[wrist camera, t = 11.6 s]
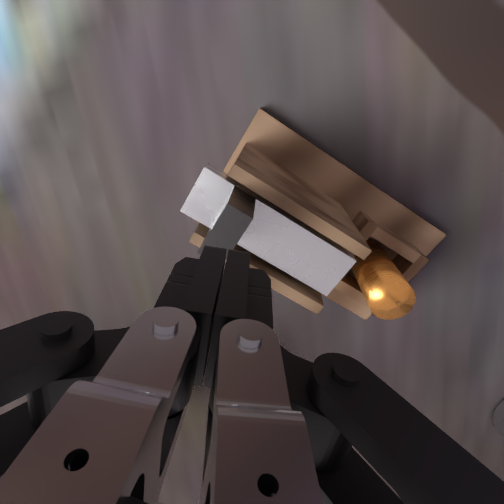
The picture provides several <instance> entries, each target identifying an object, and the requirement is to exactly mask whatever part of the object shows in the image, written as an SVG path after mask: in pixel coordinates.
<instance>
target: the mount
mask: <svg viewBox="0 0 504 504" xmlns="http://www.w3.org/2000/svg"><path fill="white" fill-rule="evenodd" d="M223 172H225V173H226V174H228V176H230V177H231V178H233V179H235V180H236V181H238V182H239V183H241V184H243V185H244V186H246V187H247V188H249V189H251V190H252V191H254V192H255V193H257V194H259V195H260V196H262V197H263V198H265V199H267V200H268V201H270V202H271V203H273V204H275V205H276V206H278V207H280V208H281V209H283V210H284V211H286V212H288V213H289V214H291V215H292V216H294V217H296V218H297V219H299V220H300V221H302V222H304V223H305V224H307V225H308V226H310V227H312V228H313V229H315V230H316V231H318V232H320V233H321V234H323V235H325V236H326V237H328V238H329V239H331V240H333V241H334V242H336V243H337V244H339V245H341V246H342V247H344V248H345V249H347V250H349V251H350V252H352V253H353V255H357V256H358V257H360V258H361V259H363V260H365V259H366V257H367V256H368V255H369V254H370V253H371V252H372V250H371V249H370V247H369V246H368V244H367V243H366V241H367V240H372V241H375V242H377V243H379V244H380V245H381V246H382V248H383V249H384V250H385V252H386V253H387V255H388V256H389V257H390V259H391V260H392V261H393V263H394V264H395V266H396V267H397V268H398V270H399V271H400V272H401V274H402V275H403V277H404V278H405V279H406V281H407V282H409V281H410V280H411V279H412V278H413V277H414V276H415V275H416V274H417V273H418V272H419V271H420V270H421V269H422V268H423V267H424V266H425V265H426V264H427V263H428V262H429V259H428V258H427V257H426V256H427V255H428V254H429V253H430V252H431V251H432V250H433V249H434V248H435V247H436V246H437V245H438V243H439V242H440V241H441V240H442V239H443V238H444V237H445V236H446V234H444V233H443V232H442V231H440V230H439V229H437V228H436V227H434V226H433V225H431V224H430V223H428V222H427V221H426V220H424V219H423V218H421V217H420V216H418V215H417V214H415V213H414V212H412V211H411V210H409V209H408V208H406V207H405V206H403V205H402V204H400V203H399V202H397V201H396V200H395V199H393V198H392V197H390V196H389V195H387V194H386V193H384V192H383V191H381V190H380V189H378V188H377V187H375V186H374V185H372V184H371V183H369V182H368V181H366V180H365V179H364V178H362V177H361V176H359V175H358V174H356V173H355V172H353V171H352V170H350V169H349V168H347V167H346V166H344V165H343V164H341V163H340V162H338V161H337V160H336V159H334V158H333V157H331V156H330V155H328V154H327V153H325V152H324V151H322V150H321V149H319V148H318V147H316V146H315V145H313V144H312V143H310V142H309V141H307V140H306V139H305V138H303V137H302V136H300V135H299V134H297V133H296V132H294V131H293V130H291V129H290V128H288V127H287V126H285V125H284V124H282V123H281V122H279V121H278V120H276V119H275V118H274V117H272V116H271V115H269V114H268V113H266V112H265V111H263V110H262V109H260V108H259V110H258V112H257V113H256V115H255V117H254V118H253V120H252V122H251V124H250V125H249V127H248V129H247V131H246V132H245V134H244V136H243V138H242V139H241V141H240V143H239V144H238V146H237V148H236V150H235V151H234V153H233V155H232V157H231V158H230V160H229V162H228V164H227V165H226V167H225V169H224V170H223ZM195 221H197V220H195ZM197 222H198V221H197ZM198 223H199V225H198V227H197V228H196V230H195V232H194V234H193V235H192V237H191V239H190V241H189V242H191V243H192V244H194V245H196V246H198V247H199V248H200V246H201V244H202V242H203V240H204V238H205V236H206V234H207V231H208V229H209V227H207V226H205V225H203V224H202V223H200V222H198ZM233 250H237V251H243V252H249V253H250V268H256V269H262V270H265V272H266V273H267V275H268V276H269V277H270V279H271V288H272V289H273V290H275V291H277V292H279V293H281V294H282V295H284V296H286V297H288V298H289V299H291V300H293V301H295V302H296V303H298V304H300V305H302V306H303V307H305V308H307V309H309V310H311V311H312V312H314V313H316V314H318V313H319V312H320V311H321V309H322V308H323V307H324V305H323V301H322V297H321V294H322V293H320V292H318V291H317V290H315V289H313V288H312V287H310V286H308V285H306V284H305V283H303V282H301V281H300V280H298V279H296V278H294V277H293V276H291V275H289V274H288V273H286V272H284V271H282V270H281V269H279V268H277V267H276V266H274V265H272V264H270V263H269V262H267V261H265V260H264V259H262V258H260V257H258V256H257V255H255V254H253V253H251V252H250V251H248V250H246V249H245V248H243V247H241V246H239V245H238V244H236V246H235V247H234V249H233ZM225 262H226V261H225ZM322 295H324V294H322ZM324 296H325V295H324ZM326 297H327V298H329V299H331V300H332V301H334V302H336V303H338V304H339V305H341V306H343V307H344V308H346V309H348V310H350V311H351V312H353V313H355V314H356V315H358V316H360V317H362V318H363V319H365V320H366V319H367V318H368V317H369V316H370V315H371V314H372V312H371V310H370V308H369V306H368V304H367V302H366V299H365V297H364V295H363V293H362V291H361V289H360V286H359V284H358V282H357V280H356V278H355V276H354V274H353V271H352V269H350V270H349V271H348V272H347V273H346V274H345V276H344V277H343V278H342V279H341V280H340V281H339V283H338V284H337V285H336V286H335V287H334V288H333V290H332V291H331V292H330V293H329V294H328V295H327V296H326Z"/></svg>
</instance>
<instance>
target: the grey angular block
mask: <svg viewBox="0 0 504 504" xmlns="http://www.w3.org/2000/svg"><path fill="white" fill-rule="evenodd" d="M180 211H181V212H183V213H185V214H186V215H188V216H190V217H191V218H193V219H195V220H197V221H198V222H200V223H202V224H203V225H205V226H207V227H209V229H208V231H207V234H206V236H205V238H204V240H203V242H202V244H201V246H200V248H199V251H198V253H199V254H202V251H203V248H204V246H205V245H207V246H213V247H219V248H225V249H227V252H226V259H225V261H226V260H227V255H228V250H229V249H231V250H233V249H234V247H235V246H236V244H238V245H239V246H241V247H243V248H245V249H246V250H248V251H250V252H251V253H253V254H255V255H257V256H258V257H260V258H262V259H264V260H265V261H267V262H269V263H270V264H272V265H274V266H276V267H277V268H279V269H281V270H282V271H284V272H286V273H288V274H289V275H291V276H293V277H294V278H296V279H298V280H300V281H301V282H303V283H305V284H306V285H308V286H310V287H312V288H313V289H315V290H317V291H318V292H320V293H322V294H324V295H325V296H327V295H328V294H329V293H330V292H331V291H332V290H333V288H334V287H335V286H336V285H337V284H338V283H339V281H340V280H341V279H342V278H343V277H344V276H345V274H346V273H347V272H348V271H349V270H350V269H351V267H352V266H353V265H354V264H355V263H356V262H357V261H356V259H355V257H354V255H353V253H352V252H350V251H349V250H347V249H345V248H344V247H342V246H341V245H339V244H337V243H336V242H334V241H333V240H331V239H329V238H328V237H326V236H325V235H323V234H321V233H320V232H318V231H316V230H315V229H313V228H312V227H310V226H308V225H307V224H305V223H304V222H302V221H300V220H299V219H297V218H296V217H294V216H292V215H291V214H289V213H288V212H286V211H284V210H283V209H281V208H280V207H278V206H276V205H275V204H273V203H271V202H270V201H268V200H267V199H265V198H263V197H262V196H260V195H259V194H257V193H255V192H254V191H252V190H251V189H249V188H247V187H246V186H244V185H243V184H241V183H239V182H238V181H236V180H235V179H233V178H231V177H230V176H228V174H226V173H225V172H223V171H221V170H220V169H218V168H217V167H215V166H213V165H212V164H210V163H208V164H207V165H206V166H205V167H204V169H203V170H202V172H201V174H200V176H199V178H198V180H197V181H196V183H195V185H194V187H193V189H192V190H191V192H190V194H189V196H188V198H187V200H186V201H185V203H184V205H183V207H182V209H181V210H180Z"/></svg>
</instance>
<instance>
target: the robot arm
mask: <svg viewBox="0 0 504 504" xmlns="http://www.w3.org/2000/svg"><path fill="white" fill-rule="evenodd" d="M226 252H227V249H225V248H219V247H213V246H207V245H205V246H204V248H203V251H202V254H201V256H200V259H194V258H188V257H185V258H184V259H182V260H181V261H179V262H177V263H176V264H175V266H174V268H173V270H172V272H171V275H170V276H169V278H168V280H167V282H166V284H165V286H164V288H163V290H162V292H161V294H160V296H159V298H158V300H157V302H156V304H155V306H154V308H152V309H149V310H147V311H145V312H143V313H141V314H140V315H139V316H138V317H137V318H136V319H135V321H134V322H133V324H132V325H131V326H130V327H127V328H122V329H113V330H99V331H94V325H93V322H92V321H91V319H90V318H88V317H87V316H85V315H83V314H80V313H77V312H70V311H60V312H53V313H48V314H45V315H41V316H39V317H36V318H33V319H30V320H27V321H24V322H21V323H19V324H16V325H13V326H10V327H7V328H4V329H2V330H0V407H2V406H4V405H6V404H8V403H10V402H12V401H14V400H16V399H18V398H20V397H22V396H24V395H26V398H27V402H25V403H23V404H21V405H19V406H17V407H15V408H13V409H12V410H10V411H8V412H6V413H4V414H2V415H0V504H157V502H158V498H159V494H160V490H161V487H162V483H163V480H164V477H165V474H166V471H167V468H168V465H169V462H170V459H171V456H172V453H173V450H174V447H175V444H176V440H177V437H178V434H179V431H180V428H181V425H182V422H183V419H184V416H185V413H186V407H187V404H188V402H189V399H190V396H191V392H192V388H193V385H199V386H202V382H203V377H204V372H205V367H206V362H207V357H208V352H209V358H208V364H207V371H206V378H205V384H204V386H207V387H211V392H210V398H209V405H208V411H207V417H206V429H205V441H204V453H203V464H202V476H201V488H200V498H199V504H504V481H502V480H501V479H500V478H499V477H498V476H496V475H495V474H494V473H493V472H492V471H490V470H489V469H488V468H487V467H486V466H484V465H483V464H482V463H481V462H479V461H478V460H477V459H476V458H475V457H473V456H472V455H471V454H470V453H469V452H467V451H466V450H465V449H464V448H463V447H461V446H460V445H459V444H458V443H457V442H455V441H454V440H453V439H452V438H451V437H449V436H448V435H447V434H446V433H445V432H443V431H442V430H441V429H440V428H439V427H437V426H436V425H435V424H434V423H433V422H431V421H430V420H429V419H428V418H427V417H425V416H424V415H423V414H422V413H421V412H419V411H418V410H417V409H416V408H415V407H413V406H412V405H411V404H410V403H409V402H407V401H406V400H405V399H404V398H403V397H401V396H400V395H399V394H398V393H397V392H395V391H394V390H393V389H392V388H391V387H389V386H388V385H387V384H386V383H385V382H383V381H382V380H381V379H380V378H379V377H377V376H376V375H375V374H374V373H373V372H371V371H370V370H369V369H368V368H367V367H365V366H364V365H363V364H362V363H360V362H359V361H357V360H355V359H354V358H351V357H349V356H347V355H343V354H339V353H326V354H323V355H320V356H319V357H317V358H316V359H315V361H314V363H312V362H310V361H307V360H305V359H302V358H300V357H298V356H295V355H293V354H292V353H290V352H288V351H287V350H286V349H284V348H283V347H282V346H281V345H280V342H279V338H278V336H277V334H276V333H275V332H274V330H273V315H272V299H271V298H272V293H271V279H270V277H269V276H268V275H267V273H266V272H265V270H262V269H256V268H250V253H249V252H243V251H237V250H231V249H229V250H228V255H227V260H226V264H225V259H226ZM224 265H225V269H224ZM223 272H224V274H223ZM222 278H223V279H222ZM210 342H211V344H210ZM209 347H210V351H209ZM492 420H493V424H494V426H495V428H496V429H497V431H498V432H499V434H500V435H501V437H502V438H503V440H504V400H503V401H502V402H501V403H500V404H499V405H498V406H497V407H496V409H495V411H494V413H493V419H492ZM352 445H353V446H354V447H355V448H356V449H357V450H358V451H359V453H360V454H361V455H362V456H363V457H364V458H365V459H366V460H367V461H368V462H369V463H370V464H371V465H372V466H373V467H374V468H375V469H376V471H377V472H378V473H379V474H380V475H381V476H382V477H383V478H384V479H385V480H386V481H387V482H388V483H389V484H390V485H391V486H392V488H393V489H394V490H395V491H396V492H397V494H398V495H399V497H400V498H401V499H400V498H399V497H398V496H397V495H396V494H395V493H394V492H393V491H392V490H391V489H390V488H389V486H388V485H387V484H386V483H385V482H384V481H383V480H382V479H381V478H380V477H379V476H378V475H377V474H376V473H375V472H374V470H373V469H372V468H371V467H370V466H369V465H368V464H367V463H366V462H365V461H364V460H363V459H362V458H361V457H360V455H359V454H358V453H357V452H356V451H355V450H354V449H353V448H352Z"/></svg>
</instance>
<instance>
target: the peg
mask: <svg viewBox="0 0 504 504" xmlns="http://www.w3.org/2000/svg"><path fill="white" fill-rule="evenodd" d="M366 243H367V244H368V246H369V247H370V249H371V250H372V252H371V253H370V254H369V255H368V256H367V257H366V259H365V260H363V259H361V258H360V257H358V256H357V255H354V257H355V259H356V261H357V262H356V263H355V264H354V265H353V266H352V267H351V269H352V271H353V274H354V276H355V278H356V280H357V282H358V284H359V286H360V289H361V291H362V293H363V295H364V297H365V299H366V302H367V304H368V306H369V308H370V310H371V312H372V313H373V314H374V315H375V316H377V317H379V318H381V319H389V320H390V319H396V318H399V317H402V316H404V315H405V314H407V313H408V312H409V311H410V310H411V309H412V307H413V306H414V303H415V298H416V297H415V292H414V290H413V289H412V288H411V286H410V285H409V283H408V282H407V281H406V279H405V278H404V277H403V275H402V274H401V272H400V271H399V270H398V268H397V267H396V266H395V264H394V263H393V261H392V260H391V259H390V257H389V256H388V255H387V253H386V252H385V250H384V249H383V248H382V246H381V245H380V244H379V243H377V242H375V241H372V240H367V241H366Z"/></svg>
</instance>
